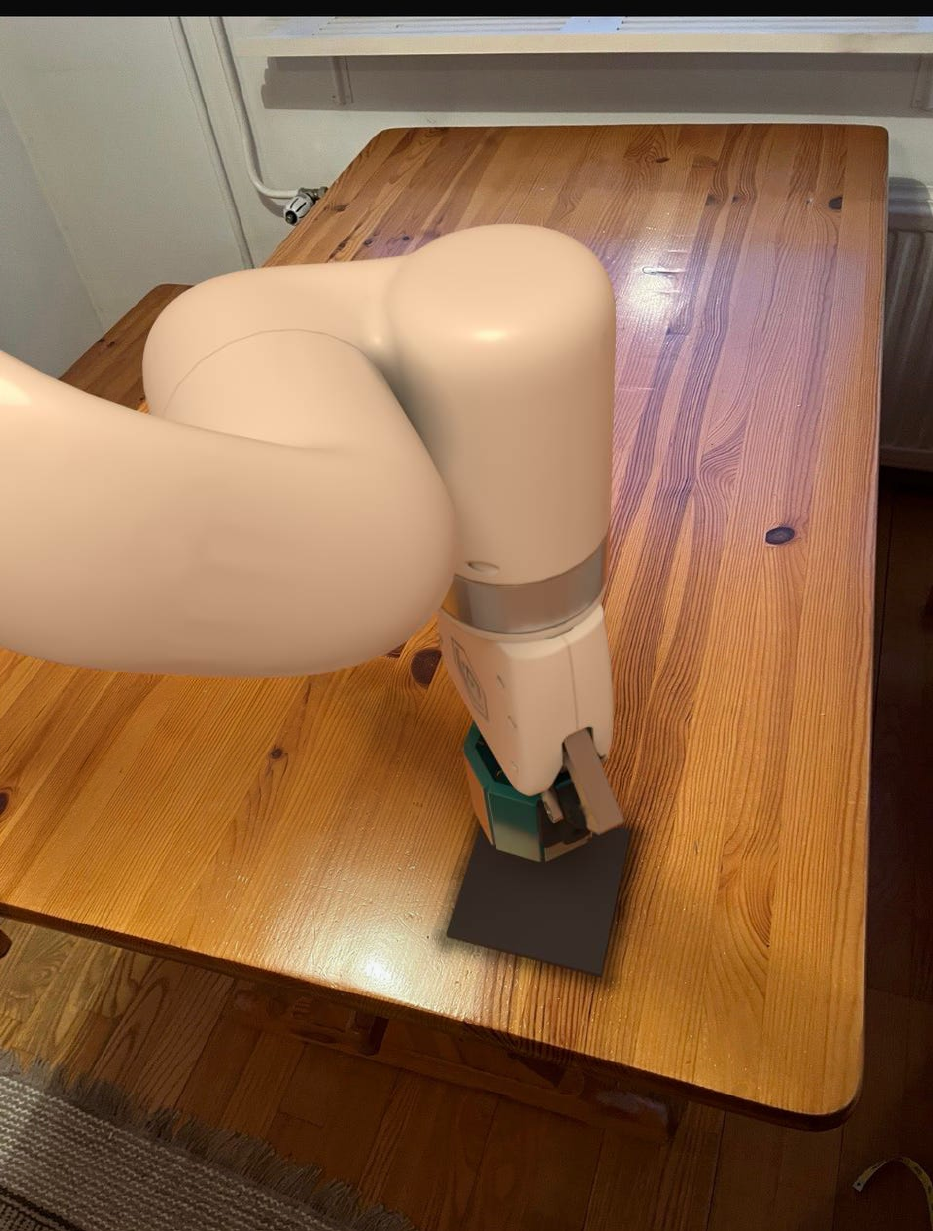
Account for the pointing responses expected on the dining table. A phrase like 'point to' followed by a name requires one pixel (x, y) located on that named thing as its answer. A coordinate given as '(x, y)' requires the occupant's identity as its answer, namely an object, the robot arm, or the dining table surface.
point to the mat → (543, 902)
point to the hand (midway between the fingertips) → (534, 773)
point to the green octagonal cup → (507, 803)
